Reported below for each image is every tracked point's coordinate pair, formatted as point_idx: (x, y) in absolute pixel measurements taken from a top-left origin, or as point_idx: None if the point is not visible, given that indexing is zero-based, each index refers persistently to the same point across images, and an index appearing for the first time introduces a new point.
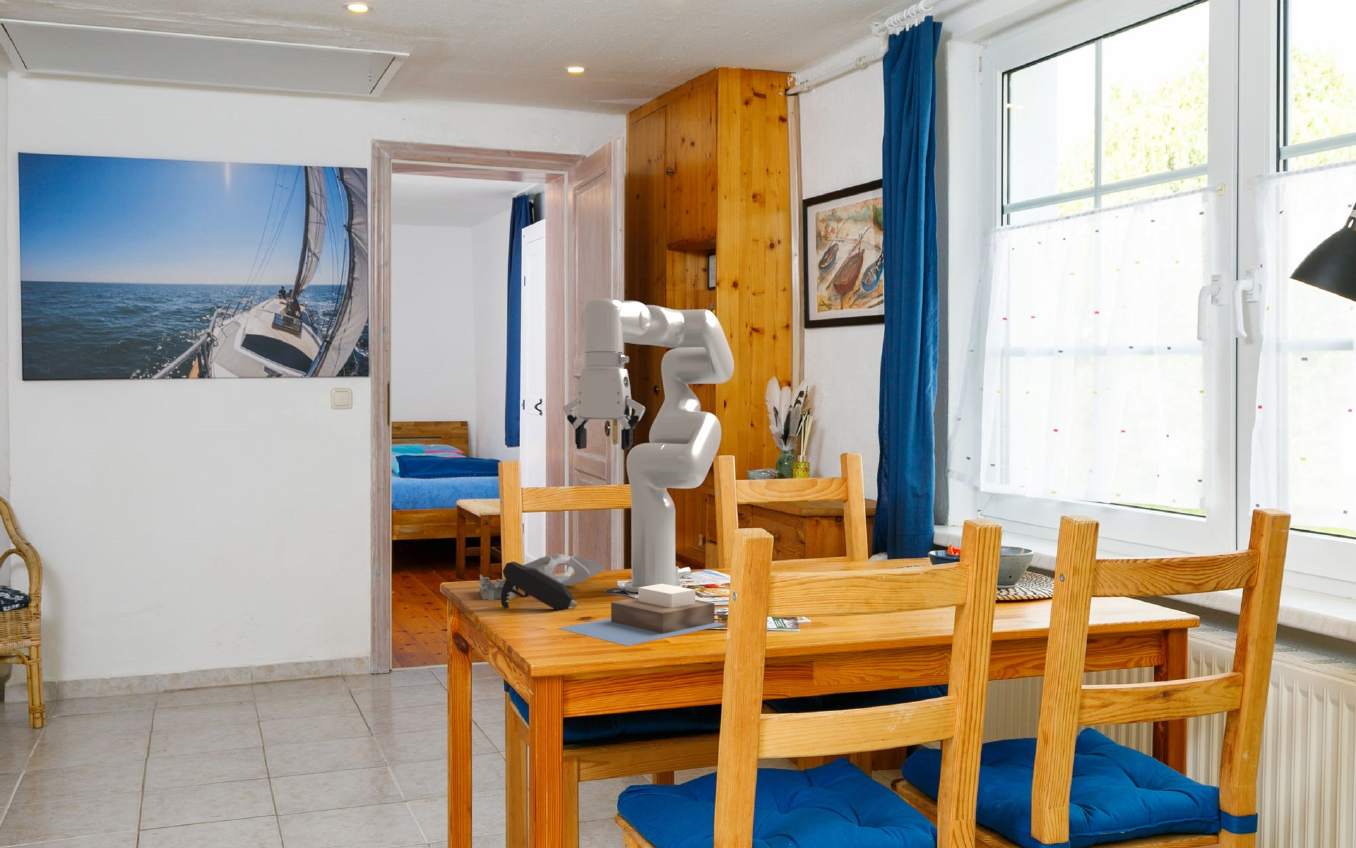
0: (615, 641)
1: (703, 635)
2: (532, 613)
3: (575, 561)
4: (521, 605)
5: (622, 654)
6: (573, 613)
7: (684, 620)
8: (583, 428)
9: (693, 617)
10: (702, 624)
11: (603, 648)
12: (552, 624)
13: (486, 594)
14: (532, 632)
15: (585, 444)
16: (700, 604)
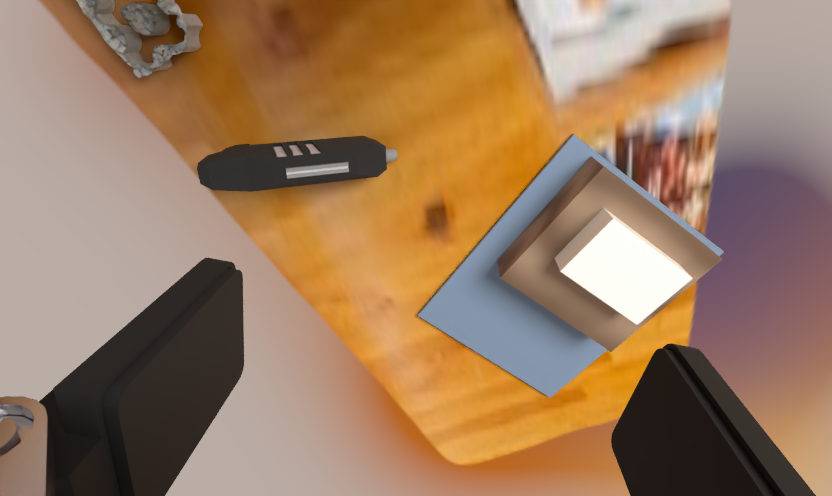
0: (528, 379)
1: (670, 314)
2: (321, 192)
3: None
4: (262, 116)
5: (546, 420)
6: (400, 179)
7: None
8: (104, 453)
9: None
10: None
11: (514, 397)
12: (393, 273)
13: (146, 63)
14: (382, 327)
15: (226, 300)
16: (689, 273)
